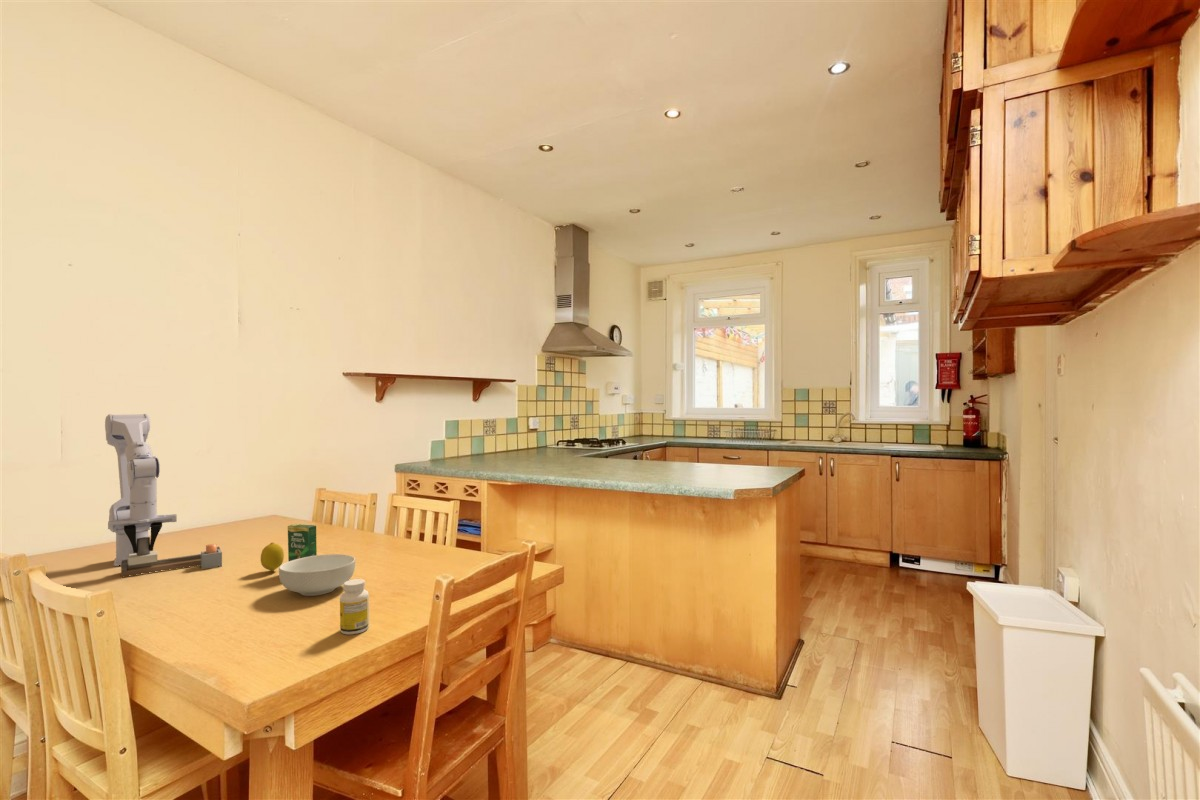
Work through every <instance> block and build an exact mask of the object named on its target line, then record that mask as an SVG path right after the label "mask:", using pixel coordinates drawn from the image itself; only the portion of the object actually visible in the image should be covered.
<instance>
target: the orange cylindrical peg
mask: <svg viewBox="0 0 1200 800" xmlns="http://www.w3.org/2000/svg"><path fill="white" fill-rule="evenodd" d="M217 547H218V544H216V543H211V544H210V543H209V544H206V545H205V551H206V554H210V553H217Z"/></svg>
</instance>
